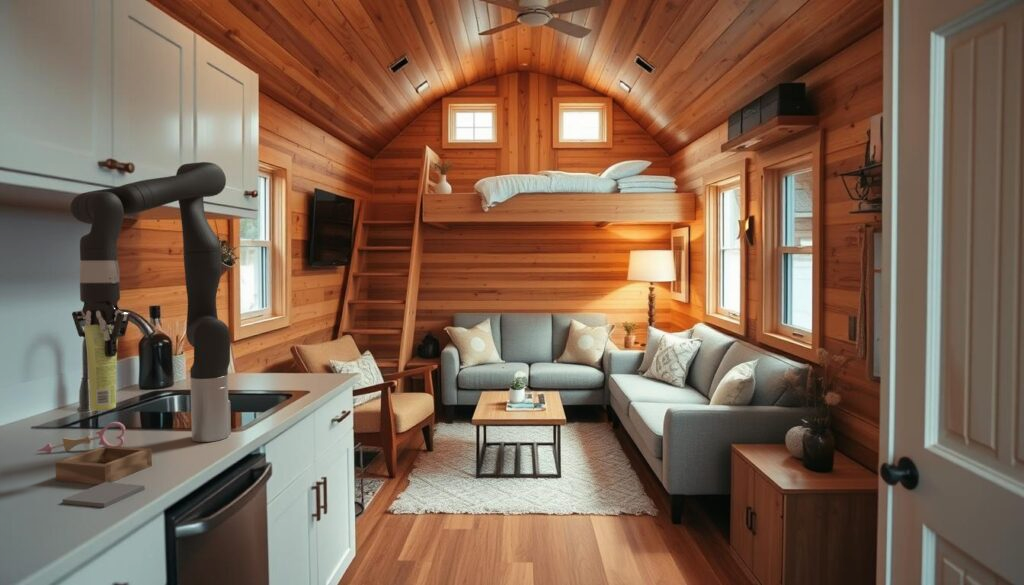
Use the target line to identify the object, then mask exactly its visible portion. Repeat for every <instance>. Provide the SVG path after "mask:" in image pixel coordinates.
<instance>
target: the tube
mask: <svg viewBox="0 0 1024 585" xmlns="http://www.w3.org/2000/svg"><path fill="white" fill-rule="evenodd" d="M107 326H111V325H107ZM83 330H84V332H85V338H86V339H85V345H86V355H87V356H86V357H87V368H88V371H87V372H88V386H89V390H88V391H89V409H90V411H93V412H101V411H109V410H112V409H116V407H117V365H118V364H117V363H118V362H117V359H118V358H117V357H118V352H117V353H116V355H115V356H112V357H106V356H105V341H107V340H106V339H105V335H104V332H103V331H102V330H101V327H100V325H84V327H83ZM110 334H112V333H111V330H110ZM118 339H119V338H118ZM118 339H117V342H119V341H118Z"/></svg>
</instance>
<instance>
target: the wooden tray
mask: <svg viewBox="0 0 1024 585" xmlns="http://www.w3.org/2000/svg"><path fill="white" fill-rule="evenodd" d="M152 456H153V454H152V449H151V448H142V447H141V448H139V447H129V446H127V447H126V446H120V447H116V446H104V445H102V446H100V447H98V448H95V449H91V450H89V451H85V452H82V453H80V454H77V455H74V456H71V457H68V458H65V459H62V460H58V461H57V462H54V463H55V481H60V482H71V483H82V484H91V485H92V484H94V485H99V484H102V483H104V482H110V483H114V482H115V481H117V480H118V481H119V480H120V479H123V478H126V477H128V476H129V475H133V474H135V473H138V472H139V471H142V470H145V469H147V468H150V467H152V466H153V458H152Z"/></svg>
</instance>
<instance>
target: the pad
mask: <svg viewBox="0 0 1024 585" xmlns="http://www.w3.org/2000/svg"><path fill="white" fill-rule="evenodd" d="M144 490H145V485H144V484H143V485H140V484H132V483H131V484H130V483H119V482H111V483H110V482H104V483H102V484H96V485H95V486H93V487H90V488H87V489H85V490H82V491H80V492H77V493H75V494H73V495H70V496H67V497H65V498H63V499H61V501H62V504H65V505H66V504H67V505H77V506H85V507H86V506H87V507H96V508H97V507H98V508H106V507H108V506H111V505H112V504H115V503H118V502H120V501H121V500H124V499H126V498H128V497H131V496H132V495H135V494H137V493H140V492H141V491H144Z"/></svg>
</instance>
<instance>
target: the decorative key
mask: <svg viewBox="0 0 1024 585" xmlns="http://www.w3.org/2000/svg"><path fill="white" fill-rule="evenodd" d="M112 426H118V427H119V428H121V431H122V432H121V434H120V435H118V436H116V437H115V438H116V439H118V440H120V444H111V443H109V442H108V441H107V439H106V438H105V433H106V431H107V429H109V428H110V427H112ZM125 433H126V426H125V425H124V424H123V423H121V422H120V421H112V422H110V423H108V424H107V425H106V426H105V427H103V428H102V429H100V430H98V431H95V434H96V435H98V436H92V437H91V435H88V436H86V437H83V438H77V439H76V438H69V437H67V436H66V437H65V436H64V437H63V438H62V443H61V444H56V445H52V444H51V442H48V443H47V444H46V445H45V446H44V447H42V448H40V449H38V450H36V451H37V452H45V453H49V454H52V453H53V450H54V449H57V448H61V447H62V448H63V447H64V451H65V453H68V452H69V451H70V450H71V449H73V448H75V447H77V446H79V445H82V444H91V443H92V441H95V440H99V442H98V445H102V446H116V447H123V445H124V444H125V438H124V437H123V436H124V435H125Z"/></svg>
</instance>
